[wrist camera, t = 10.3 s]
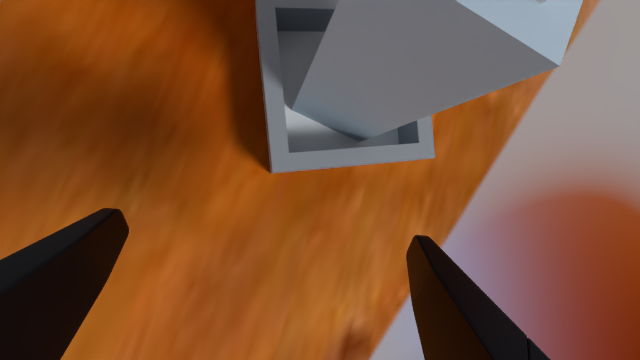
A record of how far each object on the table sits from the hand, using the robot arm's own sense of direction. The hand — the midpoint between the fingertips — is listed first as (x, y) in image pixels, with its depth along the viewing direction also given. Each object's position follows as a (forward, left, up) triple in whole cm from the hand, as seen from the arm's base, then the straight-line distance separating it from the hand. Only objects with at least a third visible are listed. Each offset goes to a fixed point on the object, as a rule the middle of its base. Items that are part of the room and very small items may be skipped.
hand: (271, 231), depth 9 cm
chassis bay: (+7, -6, -10) cm, 13 cm away
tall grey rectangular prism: (+7, -6, -9) cm, 13 cm away
